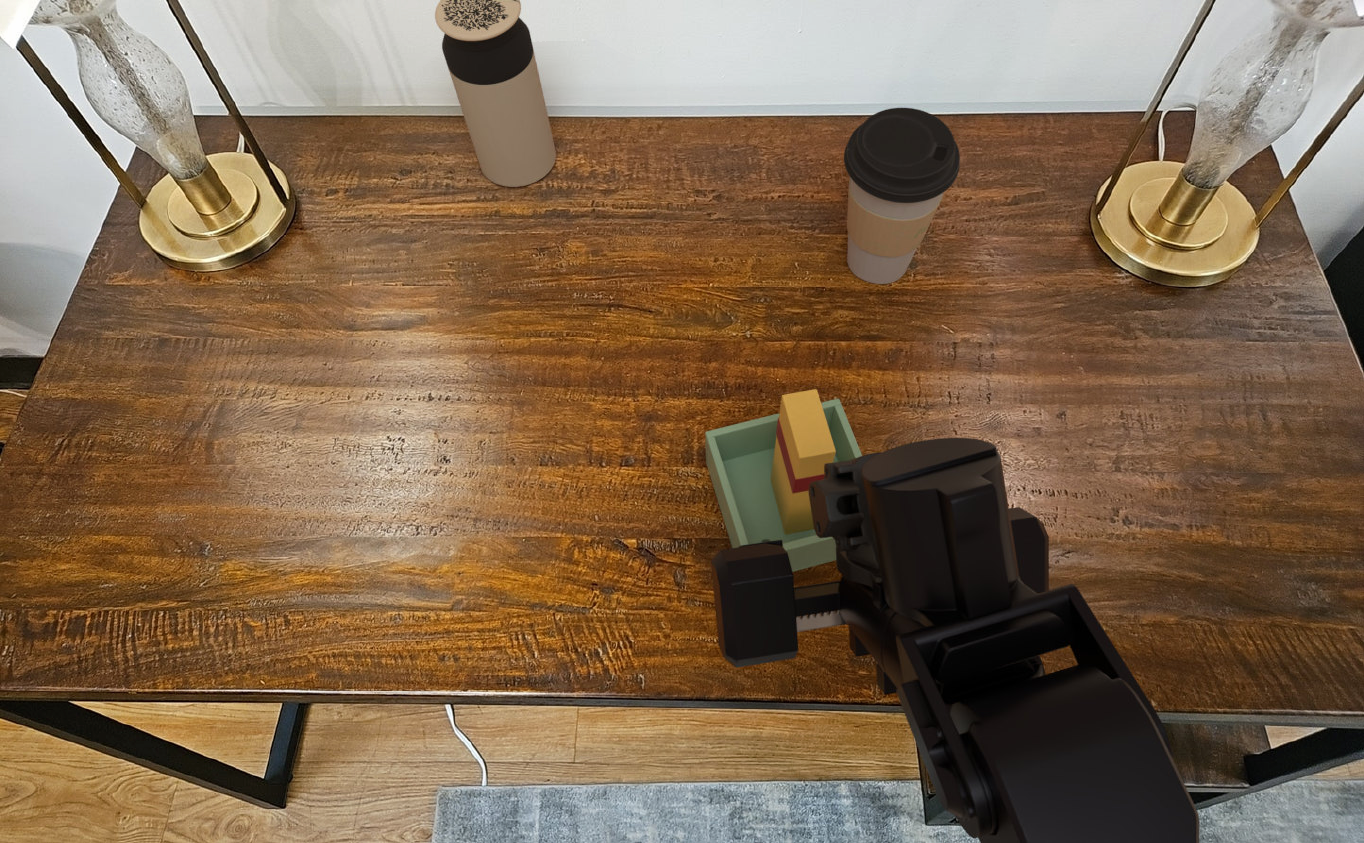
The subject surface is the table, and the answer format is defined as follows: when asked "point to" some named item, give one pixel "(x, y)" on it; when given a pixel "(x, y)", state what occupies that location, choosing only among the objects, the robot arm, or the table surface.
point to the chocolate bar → (799, 457)
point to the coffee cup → (895, 188)
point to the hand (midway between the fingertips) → (834, 536)
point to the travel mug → (498, 88)
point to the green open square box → (767, 484)
